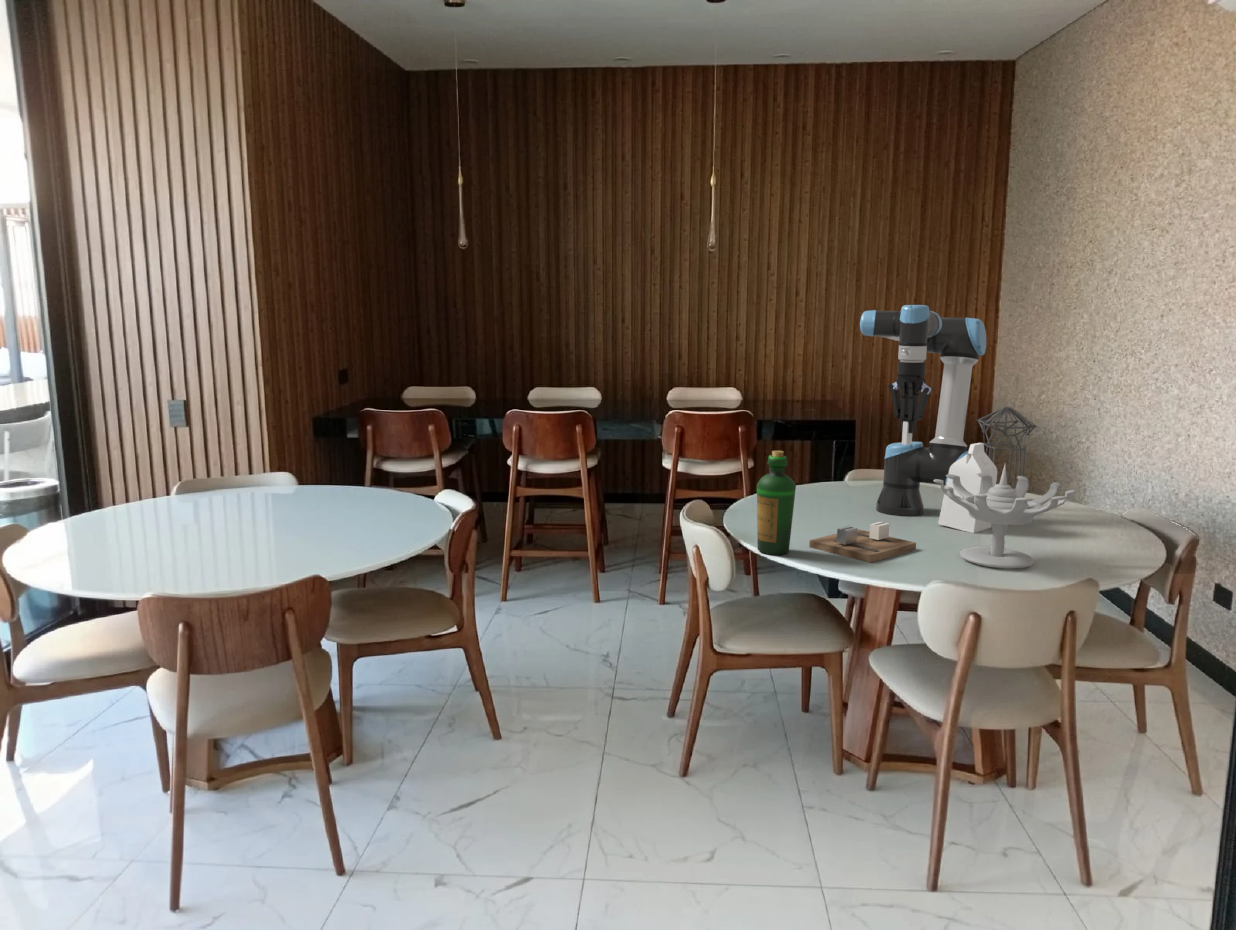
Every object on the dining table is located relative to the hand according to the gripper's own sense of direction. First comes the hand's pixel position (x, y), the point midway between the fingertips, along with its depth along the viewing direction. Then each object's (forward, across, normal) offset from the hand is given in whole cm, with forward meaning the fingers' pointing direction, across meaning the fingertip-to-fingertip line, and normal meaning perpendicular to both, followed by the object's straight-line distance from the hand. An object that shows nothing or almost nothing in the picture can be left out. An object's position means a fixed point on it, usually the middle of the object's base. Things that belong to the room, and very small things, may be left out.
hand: (906, 443), depth 260 cm
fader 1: (+26, -3, -22) cm, 34 cm away
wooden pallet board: (+28, -2, -16) cm, 33 cm away
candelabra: (+29, +28, +2) cm, 40 cm away
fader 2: (+26, -1, -10) cm, 28 cm away
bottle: (+28, -15, -39) cm, 50 cm away
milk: (+30, +2, +32) cm, 44 cm away
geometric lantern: (+31, -4, +65) cm, 72 cm away
